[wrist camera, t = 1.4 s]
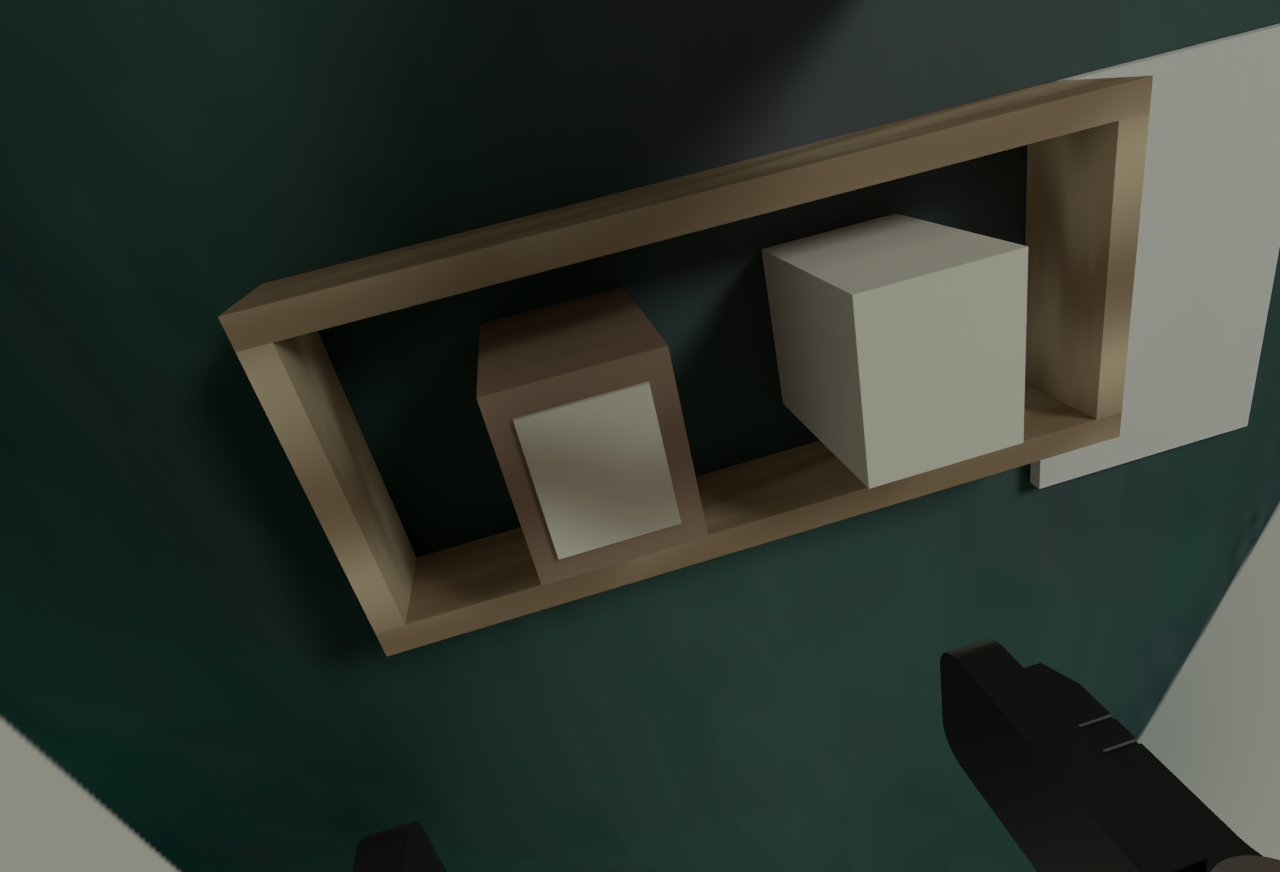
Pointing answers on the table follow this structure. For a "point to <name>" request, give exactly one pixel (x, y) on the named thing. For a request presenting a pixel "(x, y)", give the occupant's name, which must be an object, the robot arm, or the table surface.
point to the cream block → (901, 342)
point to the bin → (761, 488)
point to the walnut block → (588, 433)
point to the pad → (1197, 249)
